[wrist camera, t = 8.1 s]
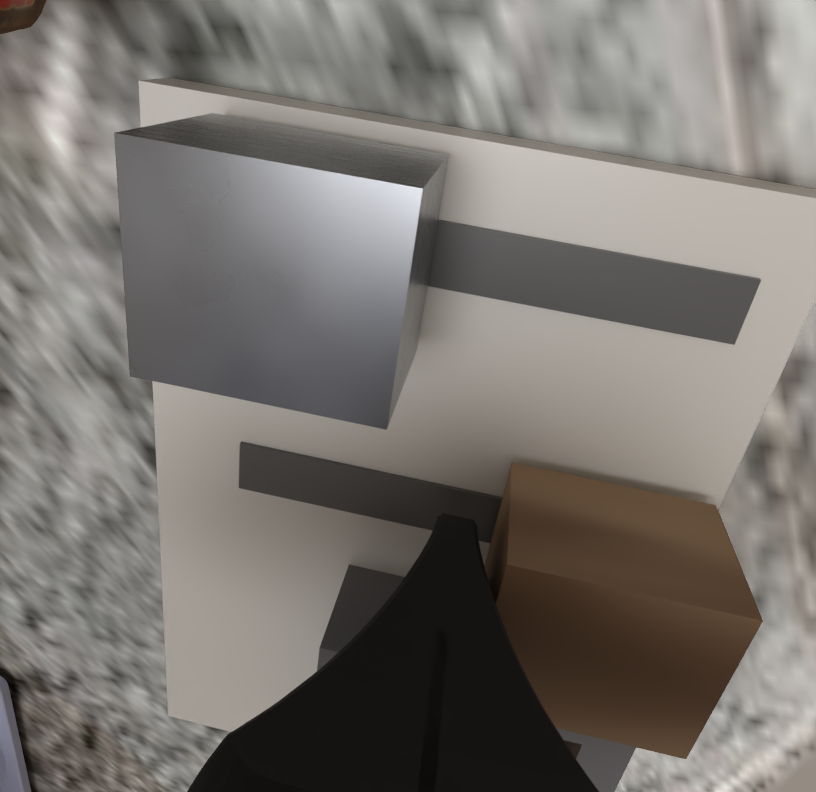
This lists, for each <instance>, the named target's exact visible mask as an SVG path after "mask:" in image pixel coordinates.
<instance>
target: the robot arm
mask: <svg viewBox="0 0 816 792" xmlns="http://www.w3.org/2000/svg"><path fill="white" fill-rule="evenodd" d="M0 792H31V788H30V783H29V779H28V774H27V770H26V765H25V760H24V756H23V751H22V746H21V742H20V737H19V733H18V728H17V723H16V719H15V714H14V709H13V705H12V700H11V696H10V691H9V686H8V683H7V681H6V680H5V679H4V678H3V677H2V676H0ZM188 792H599V791H598V789H597V788H596V787H595V785H594V784H593V783H592V781H591V780H590V778H589V777H588V776H587V774H586V773H585V771H584V770H583V768H582V767H581V766H580V764H579V763H578V761H577V760H576V759H575V757H574V756H573V754H572V753H571V751H570V749H569V748H568V746H567V745H566V743H565V742H564V740H563V738H562V737H561V735H560V734H559V732H558V730H557V729H556V727H555V726H554V724H553V722H552V721H551V719H550V718H549V716H548V715H547V713H546V711H545V710H544V708H543V706H542V704H541V702H540V701H539V699H538V697H537V695H536V693H535V691H534V690H533V688H532V686H531V684H530V682H529V680H528V678H527V676H526V674H525V672H524V670H523V668H522V666H521V664H520V662H519V660H518V658H517V656H516V653H515V651H514V649H513V647H512V644H511V642H510V640H509V637H508V635H507V632H506V630H505V627H504V625H503V622H502V620H501V617H500V614H499V612H498V609H497V606H496V603H495V600H494V597H493V594H492V591H491V588H490V585H489V581H488V578H487V574H486V571H485V567H484V563H483V559H482V555H481V550H480V545H479V539H478V531H477V525H476V523H475V520H472V519H468V518H463V517H459V516H454V515H449V514H445V513H442V515H440V516H438V517H437V520H436V524H435V526H434V529H433V531H432V533H431V536H430V538H429V540H428V541H427V543H426V545H425V547H424V548H423V550H422V552H421V554H420V555H419V557H418V558H417V560H416V561H415V563H414V564H413V566H412V567H411V569H410V570H409V572H408V573H407V575H406V576H405V578H404V579H403V581H402V582H401V583H400V585H399V586H398V587H397V588H396V590H395V591H394V592H393V593H392V595H391V596H390V597H389V599H388V600H387V601H386V602H385V604H384V605H383V606H382V607H381V608H380V610H379V611H378V612H377V613H376V614H375V615H374V617H373V618H372V619H371V620H370V621H369V622H368V623H367V624H366V625H365V626H364V627H363V628H362V630H361V631H360V632H359V633H358V634H357V635H356V636H355V637H354V638H353V639H352V640H351V641H350V642H349V643H348V644H347V645H346V646H344V647H343V648H342V649H341V650H340V651H339V652H338V653H337V654H336V655H335V656H334V657H333V658H332V659H331V660H330V661H328V662H327V663H326V664H325V665H324V666H323V667H321V668H320V669H319V670H318V671H317V672H316V673H314V674H313V675H312V676H311V677H309V678H308V679H307V680H305V681H304V682H303V683H302V684H300V685H299V686H298V687H296V688H295V689H294V690H293V691H291V692H290V693H289V694H287V695H286V696H285V697H283V698H282V699H281V700H279V701H278V702H277V703H275V704H274V705H272V706H271V707H270V708H268V709H266V710H265V711H263V712H262V713H260V714H259V715H257V716H256V717H254V718H253V719H251V720H249V721H248V722H246V723H245V724H243V725H242V726H240V727H239V728H237V729H236V730H234V731H232V732H231V733H229V734H228V735H227V736H226V737H225V738H224V740H223V741H222V742H221V743H220V745H219V746H218V747H217V749H216V750H215V751H214V753H213V754H212V755H211V757H210V758H209V759H208V761H207V762H206V764H205V765H204V766H203V768H202V769H201V771H200V772H199V774H198V775H197V777H196V778H195V780H194V782H193V783H192V785H191V786H190V788H189V790H188Z"/></svg>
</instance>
